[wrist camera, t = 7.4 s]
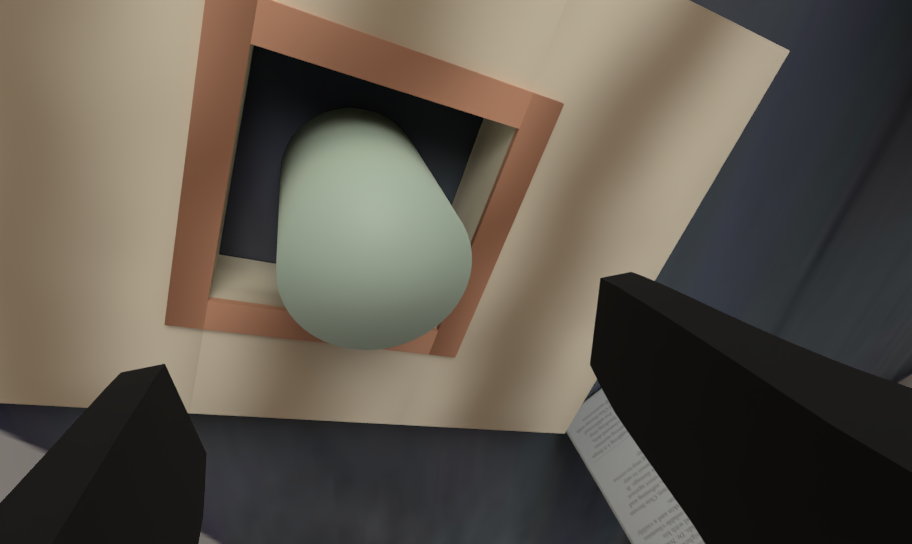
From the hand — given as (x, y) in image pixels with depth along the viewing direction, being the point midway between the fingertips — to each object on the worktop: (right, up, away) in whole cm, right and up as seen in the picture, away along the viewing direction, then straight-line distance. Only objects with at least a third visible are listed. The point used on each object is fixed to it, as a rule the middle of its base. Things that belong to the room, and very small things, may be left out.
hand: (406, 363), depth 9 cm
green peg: (-2, +5, +8) cm, 9 cm away
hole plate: (-2, +4, +8) cm, 9 cm away
